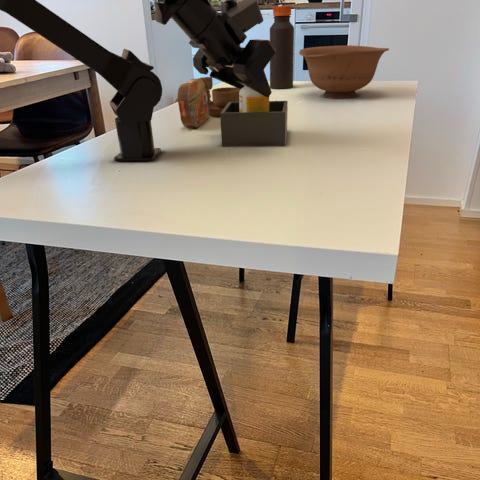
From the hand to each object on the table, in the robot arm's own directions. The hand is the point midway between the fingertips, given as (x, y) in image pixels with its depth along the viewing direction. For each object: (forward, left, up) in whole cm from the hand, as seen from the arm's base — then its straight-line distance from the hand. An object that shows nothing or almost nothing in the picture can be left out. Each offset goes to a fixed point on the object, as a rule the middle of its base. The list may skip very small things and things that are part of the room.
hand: (260, 93), depth 85 cm
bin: (-1, +1, -8) cm, 8 cm away
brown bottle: (+62, -1, -8) cm, 63 cm away
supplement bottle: (-1, +1, -7) cm, 7 cm away
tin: (+13, +15, -8) cm, 22 cm away
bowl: (+45, -17, -8) cm, 49 cm away
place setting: (+29, +10, -8) cm, 32 cm away
